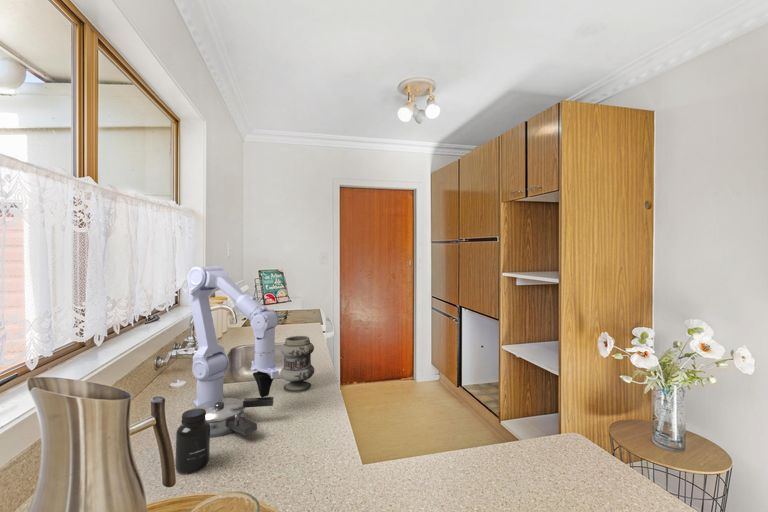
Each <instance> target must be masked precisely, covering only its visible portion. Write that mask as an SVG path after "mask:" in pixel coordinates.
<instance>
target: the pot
mask: <svg viewBox="0 0 768 512" xmlns="http://www.w3.org/2000/svg"><path fill="white" fill-rule="evenodd" d="M209 424H210V438H219V437H222V436H225V435H229V434H232V433H234V432H236V433H238V434H240V435H242V436H247V435H249V434H251V433H253V432H256V431H257V430H258V429H257V428H258V423H256V422H254V421H252V420H250V419H247V418H245V410H244V411H243V412H241V413H240V414H235V416H234V417H232V418H229V419H225V420H221V421H215V422H209Z"/></svg>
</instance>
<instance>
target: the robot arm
mask: <svg viewBox="0 0 768 512" xmlns="http://www.w3.org/2000/svg"><path fill="white" fill-rule="evenodd" d="M186 282H187V286H188V299H189V304H190V310H191V314H192V321H193V326H194V332H195V335H196V341H197V346H198V349H197V351H196V352H195V353H194V355H193V356H192V369H191V370H192V374H193V376H194V377H195V378H196V399H194V400H193V401H192V403H193V404H194V406H195V407H197V406H198V405H200V404H202V403H205V402H208V401H211V400H215V399H222V398H224V375H225V374H226V370H227V369H228V368H229V366H230V360H229V356H228V355H227V353H226V351H225V347H224V346H223V345H222V346H221V345H220V344H219V343H218V339H217V335H216V334H217V333H216V328H215V324H214V319H213V313H212V310H211V303H210V298H209V297H210V295H211V294H212V293H213V291H215V290H217V289H220V291H222V292H223V293H224V294H225V295H227V296H228V297H229V298H230V299H232V300H233V302H235V303H236V304H235V305H236V309H238V311H239V312H240V313H241V314H242V315H244V317H246V319H248V320H249V321H250V322H249V323H250V328H251V329H252V330H253V336H254V360H253V359H252V360H251V367H250V371H252V372H253V373H252V376H253V378H254V379H255V382H256V385H257V390H258V393H259V397H260V398H261V397H269V395H270V391H271V387H272V383H273V381H274V379H277V378H279V375H280V374H279V373H280V371H279V370H278V368H277V366H276V364H275V359H276V358H275V357H276V355H275V349H276V348H275V347H276V344H275V342H276V336H275V335H276V327H277V326H278V324H279V321H280V318H279V314H278V313H277V312H276V311H275V310H274V309H269V308H268V307H266V305H263V304H262V303H261V302H260V301H259V300H258V299H257V297H256V296H255V294H254V295H253V294H250V293H249V294H246V293H244V291H243V290H242V289H241V288H240V287H239V286H238V285H237V284H236V283H235V281H233V279H231V278H230V276H229V273H228V271H227V270H225V269H224V268H223V266H220V265H214V266H193V267H192V268H191V269H190V270H189V272H188V274H187V275H186Z"/></svg>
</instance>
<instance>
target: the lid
mask: <svg viewBox="0 0 768 512" xmlns="http://www.w3.org/2000/svg"><path fill="white" fill-rule="evenodd" d="M274 399H275V397H274V396H265V397H261V396H260V397H250V398H249V397H247V398H244V399H243V400H242V399H239V398H234V397H223V398H222V399H215V400H211V401H208V402H205V403H202V404H200V405H198V406H197V407H196V406H195V407H194V408H193V409H198V408H200V409H204V410H206V421H207V422H215V421H221V420H225V419H229V418H232V417H234V416H235V414H240V413H241V412H243V411H244V412H245V409H247V408H257V407H258V408H261V407H262V408H263V407H273V406H274V403H275V402H274Z"/></svg>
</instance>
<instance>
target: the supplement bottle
mask: <svg viewBox="0 0 768 512" xmlns="http://www.w3.org/2000/svg"><path fill="white" fill-rule="evenodd" d="M180 422H181V424H180V425H179V426H178V428H177V430H176V433H175V458H174V459H175V461H174V462H175V467H176V468H175V471H176V472H178V473H180V474H183V475H184V474H187V475H188V474H192V473H193V474H194V473H196V472H199V471H201V470H202V469H203V470H204V468H206V467H207V466H208V464H209V463H210V456H211V454H210V452H211V449H210V448H211V437H210V424H209V422H207V421H206V410H204V409H200V408H198V409H194V408H192V409H188V410H185V411H184V412H183V413H182V414H181V421H180Z"/></svg>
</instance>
